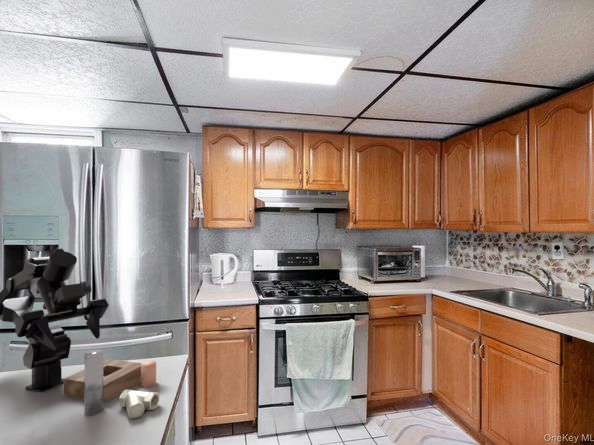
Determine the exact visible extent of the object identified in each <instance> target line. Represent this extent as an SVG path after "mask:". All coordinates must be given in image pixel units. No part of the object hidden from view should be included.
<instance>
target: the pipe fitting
mask: <svg viewBox="0 0 594 445" xmlns="http://www.w3.org/2000/svg"><path fill="white" fill-rule="evenodd" d="M159 402H160V393H159V392H157V391H156V392H155V391H153V392H151V391H141V390H133V389H126V390H124V391H123V392H121V393H120V394H119V398H118V404H119V407H120V408H121V407H122V408H123V407H124V408H126V412H127V415H128V417H129V418H130V419H136V418H140V417H141V416H142V415H143V414H144V412H145V410H149V411H151V410H152V411H153V410H155V409H156V408H157V406H158V405H159Z"/></svg>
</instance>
